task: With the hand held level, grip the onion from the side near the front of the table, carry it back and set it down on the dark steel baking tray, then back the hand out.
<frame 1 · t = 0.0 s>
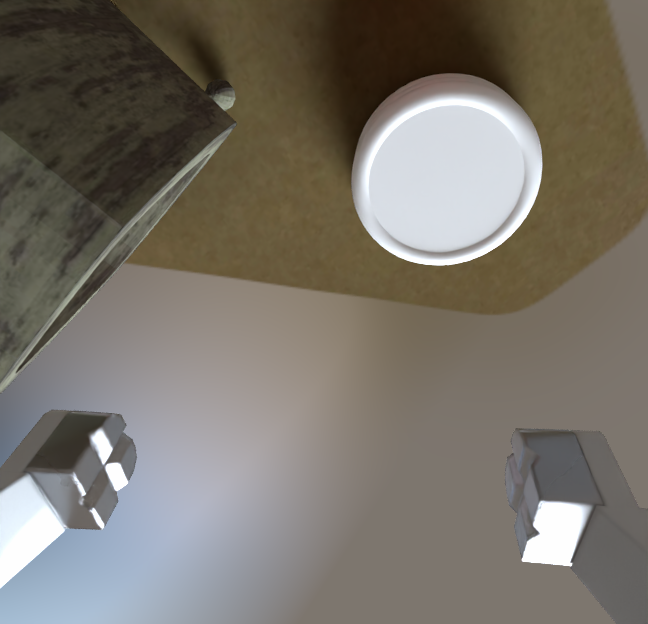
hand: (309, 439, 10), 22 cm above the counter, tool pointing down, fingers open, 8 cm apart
white round flat cylinder: (438, 164, 28), on the counter
tabletop clock: (138, 124, 29), on the counter
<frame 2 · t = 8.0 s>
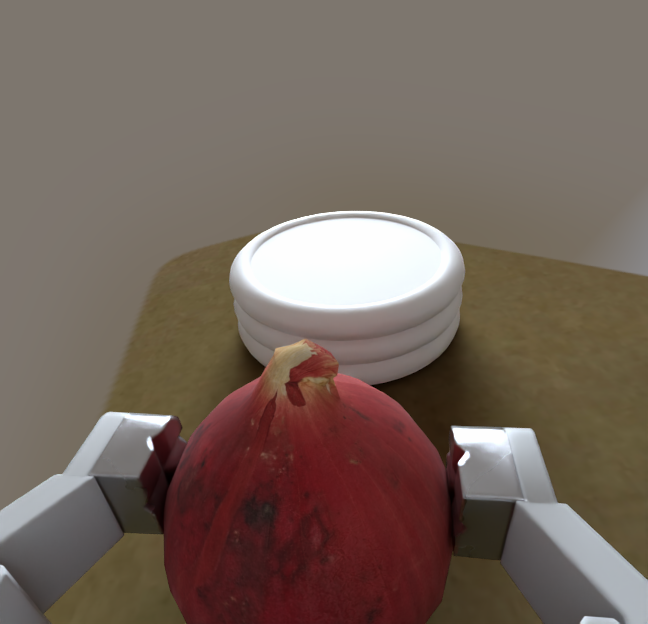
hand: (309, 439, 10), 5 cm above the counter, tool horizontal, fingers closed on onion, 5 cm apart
white round flat cylinder: (348, 322, 22), on the counter
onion: (322, 608, 12), on the counter, touching gripper
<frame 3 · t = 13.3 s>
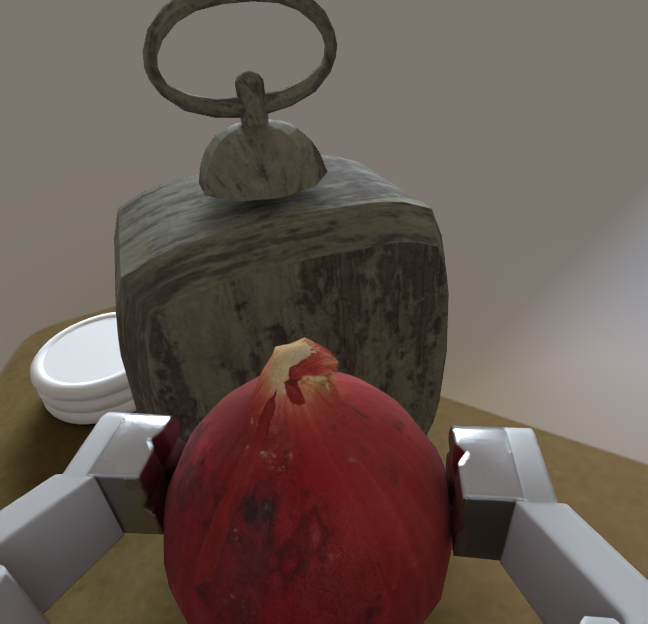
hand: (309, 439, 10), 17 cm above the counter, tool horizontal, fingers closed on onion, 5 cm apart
white round flat cylinder: (115, 382, 38), on the counter
tabletop clock: (307, 473, 30), on the counter
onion: (321, 606, 12), point 12 cm above the counter, touching gripper
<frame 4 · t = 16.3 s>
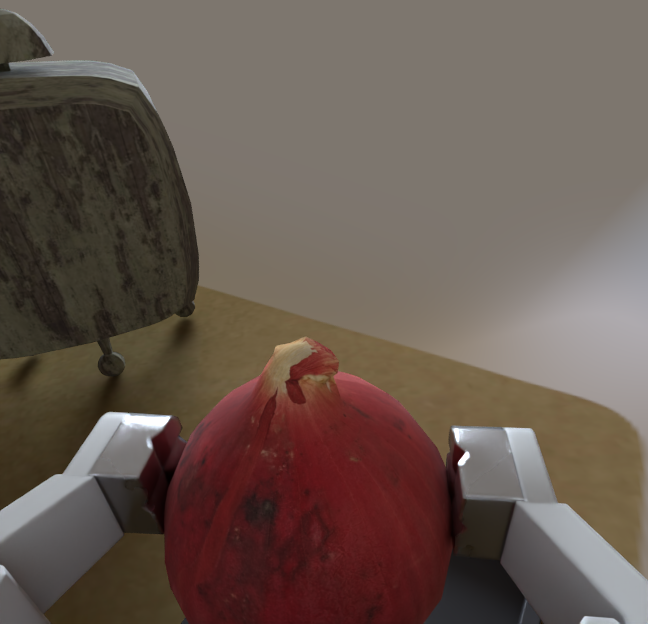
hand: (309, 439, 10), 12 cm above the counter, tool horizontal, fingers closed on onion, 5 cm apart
tabletop clock: (115, 358, 33), on the counter
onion: (322, 606, 12), point 7 cm above the counter, touching gripper
when the fingers open (5 cm above the counter, at t = 18.8 s): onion stays where it is, resting on baking tray.
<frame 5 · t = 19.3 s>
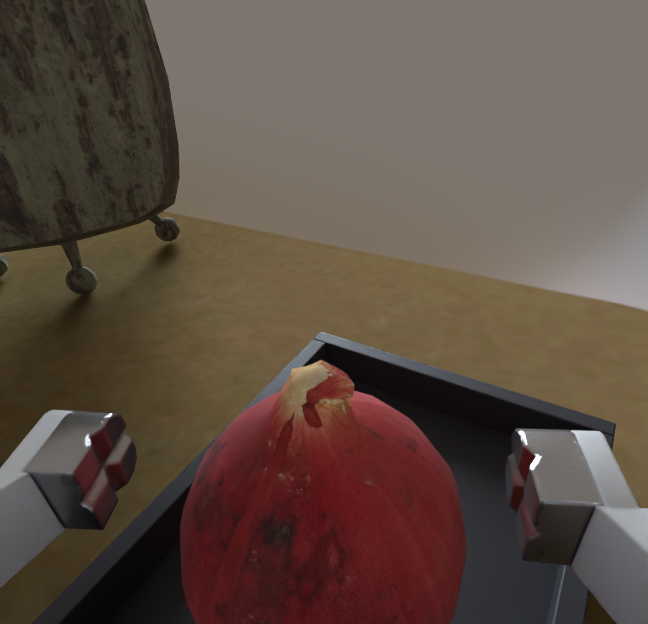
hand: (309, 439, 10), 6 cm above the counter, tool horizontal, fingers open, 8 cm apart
baking tray: (327, 621, 13), on the counter
tabletop clock: (88, 280, 30), on the counter
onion: (333, 618, 12), resting on baking tray
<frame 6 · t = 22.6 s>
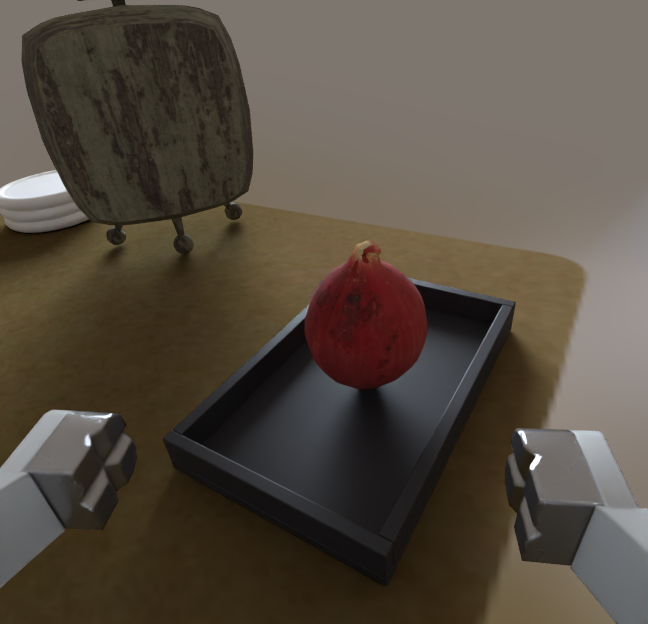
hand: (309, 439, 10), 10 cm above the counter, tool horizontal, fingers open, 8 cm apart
baking tray: (364, 389, 25), on the counter
white round flat cylinder: (60, 216, 51), on the counter
tabletop clock: (183, 245, 43), on the counter
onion: (367, 386, 25), resting on baking tray
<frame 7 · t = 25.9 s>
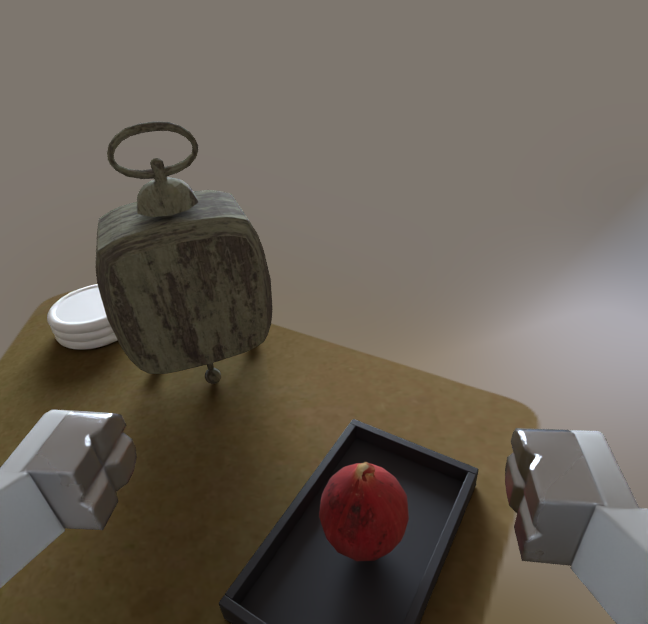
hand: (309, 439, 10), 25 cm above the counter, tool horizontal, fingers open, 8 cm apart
baking tray: (362, 545, 34), on the counter
white round flat cylinder: (101, 327, 59), on the counter
tabletop clock: (211, 371, 51), on the counter
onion: (364, 543, 34), resting on baking tray
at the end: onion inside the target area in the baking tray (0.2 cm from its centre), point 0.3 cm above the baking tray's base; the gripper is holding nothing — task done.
